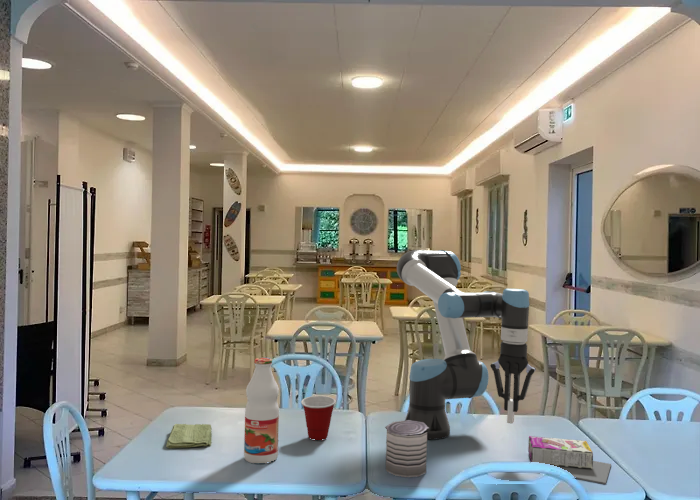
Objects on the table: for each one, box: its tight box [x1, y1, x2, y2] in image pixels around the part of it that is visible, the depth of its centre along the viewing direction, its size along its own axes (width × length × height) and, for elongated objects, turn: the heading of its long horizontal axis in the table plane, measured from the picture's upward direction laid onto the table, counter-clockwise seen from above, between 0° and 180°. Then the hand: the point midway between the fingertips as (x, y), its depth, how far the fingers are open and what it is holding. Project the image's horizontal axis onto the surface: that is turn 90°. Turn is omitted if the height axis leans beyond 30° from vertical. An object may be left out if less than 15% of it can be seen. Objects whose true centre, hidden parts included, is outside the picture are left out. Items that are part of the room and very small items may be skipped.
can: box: [384, 419, 429, 478], centre depth 163 cm, size 11×11×12 cm
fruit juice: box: [243, 357, 280, 464], centre depth 169 cm, size 9×9×28 cm
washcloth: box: [165, 423, 213, 449], centre depth 184 cm, size 13×18×3 cm
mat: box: [557, 460, 612, 485], centre depth 168 cm, size 20×16×1 cm
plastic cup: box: [300, 395, 337, 441], centre depth 188 cm, size 11×11×12 cm
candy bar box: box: [527, 435, 594, 469], centre depth 172 cm, size 11×5×16 cm
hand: (510, 421), depth 177 cm, fingers closed
